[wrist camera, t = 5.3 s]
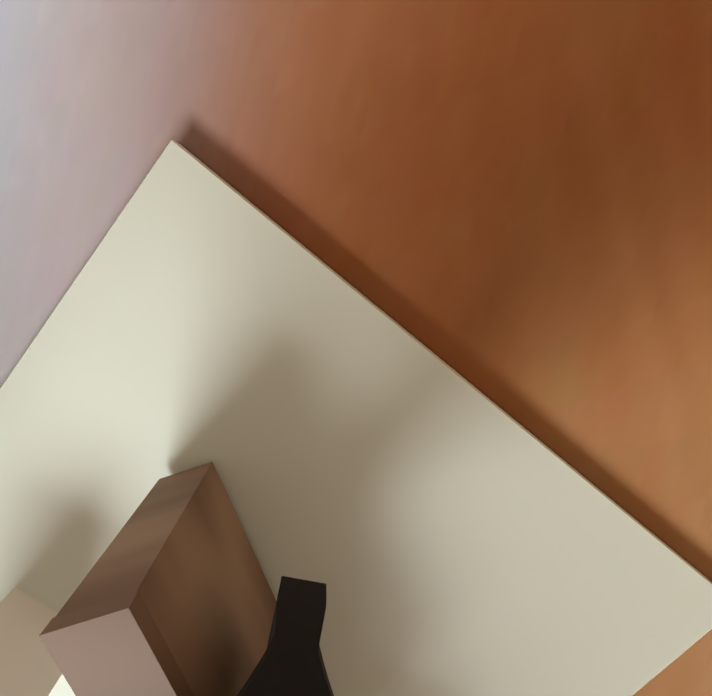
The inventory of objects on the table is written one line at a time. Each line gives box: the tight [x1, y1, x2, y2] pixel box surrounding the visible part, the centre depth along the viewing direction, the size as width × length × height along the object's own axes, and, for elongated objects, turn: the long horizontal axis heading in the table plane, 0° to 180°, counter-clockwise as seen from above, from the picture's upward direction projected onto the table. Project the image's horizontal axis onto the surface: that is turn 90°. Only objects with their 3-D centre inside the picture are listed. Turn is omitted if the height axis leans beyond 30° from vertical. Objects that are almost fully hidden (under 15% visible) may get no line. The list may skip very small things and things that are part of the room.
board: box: [0, 140, 712, 696], centre depth 16 cm, size 18×21×1 cm
